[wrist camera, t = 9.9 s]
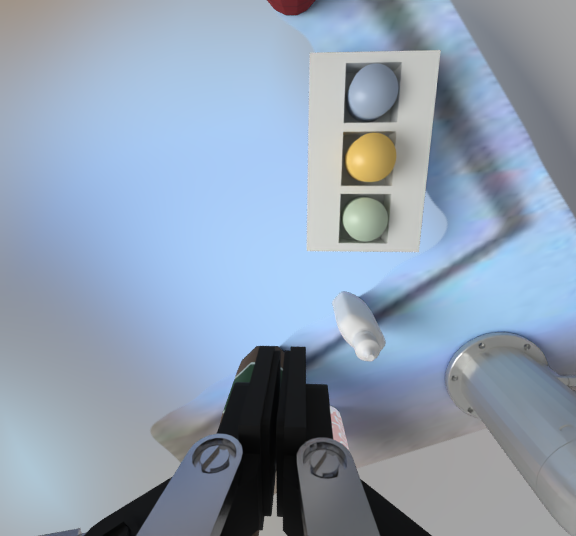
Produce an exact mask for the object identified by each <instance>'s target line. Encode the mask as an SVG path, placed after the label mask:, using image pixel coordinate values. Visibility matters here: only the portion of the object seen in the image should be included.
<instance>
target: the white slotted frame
mask: <svg viewBox="0 0 576 536" xmlns="http://www.w3.org/2000/svg"><path fill="white" fill-rule="evenodd" d="M440 51H441V50H428V51H378V52H327V53H310V63H309V123H308V126H309V127H308V190H307V191H308V192H307V251H360V252H361V251H363V252H419V245H420V236H421V235H420V234H421V227H422V217H423V208H424V198H425V190H426V180H427V171H428V162H429V153H430V143H431V134H432V125H433V116H434V106H435V97H436V88H437V79H438V69H439V60H440ZM370 64H383V65H385V66H387V67H389V68H390V69H391V70H392V71H393V72H394V74H395V76H396V78H397V81H398V95H397V98H396V101H395V102H394V104H393V106H392V107H391V108H390V109H389V110H388V111H387V112H385V113H384V114H383V115H382V116H381V117H379V118H378V119H376V120H374V121H372V122H360V121H357V120H355V119H354V118H353V117H352V116H351V115H350V114H349V112H348V110H347V107H346V95H347V91H348V89H349V87H350V85H351V83H352V81H353V79H354V77H355V75H356V74H357V73H358V72H359V71H360V70H361V69H362V68H363V67H365V66H367V65H370ZM368 133H381V134H383V135H385V136H387V137H388V138H389V139H390V140H391V141H392V142H393V144H394V146H395V149H396V163H395V165H394V168H393V169H392V171H391V172H390V173H389V175H388V176H386V177H385V178H383V179H382V180H379V181H376V182H361V181H358V180H355V179H354V178H352V177H351V176H350V175H349V174H348V172H347V170H346V167H345V155H346V152H347V150H348V148H349V147H350V145H351V144H352V143H353V142H355V141H356V140H357V139H359V138H360V137H361V136H363V135H365V134H368ZM356 197H368V198H371V199H374V200H377V201H379V202H380V203H381V204H382V205H383V206H384V207H385V209H386V211H387V214H388V223H387V226H386V229H385V230H384V232H383V233H382V234H381V235H380V236H379V237H378V238H376V239H374V240H371V241H359V240H356V239H354V238H353V237H351V236H350V235H349V233H348V232H347V231H346V230H345V228H344V227H343V225H342V222H341V212H342V209H343V207H344V206H345V204H346V203H347V202H348V201H350V200H351V199H353V198H356Z"/></svg>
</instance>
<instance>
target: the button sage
mask: <svg viewBox="0 0 576 536" xmlns="http://www.w3.org/2000/svg"><path fill="white" fill-rule="evenodd" d="M341 222H342V225H343V227H344V228H345V230H346V231H347V232H348V233H349V235H350V236H351V237H353V238H354V239H356V240H359V241H371V240H374V239H376V238H378V237H379V236H380V235H381V234H382V233H383V232H384V230H385V229H386V226H387V223H388V214H387V211H386V209H385V207H384V206H383V205H382V204H381V203H380V202H379V201H377V200H374V199H371V198H368V197H356V198H353V199H351V200H350V201H348V202H347V203H346V204H345V206H344V207H343V209H342V212H341Z"/></svg>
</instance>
